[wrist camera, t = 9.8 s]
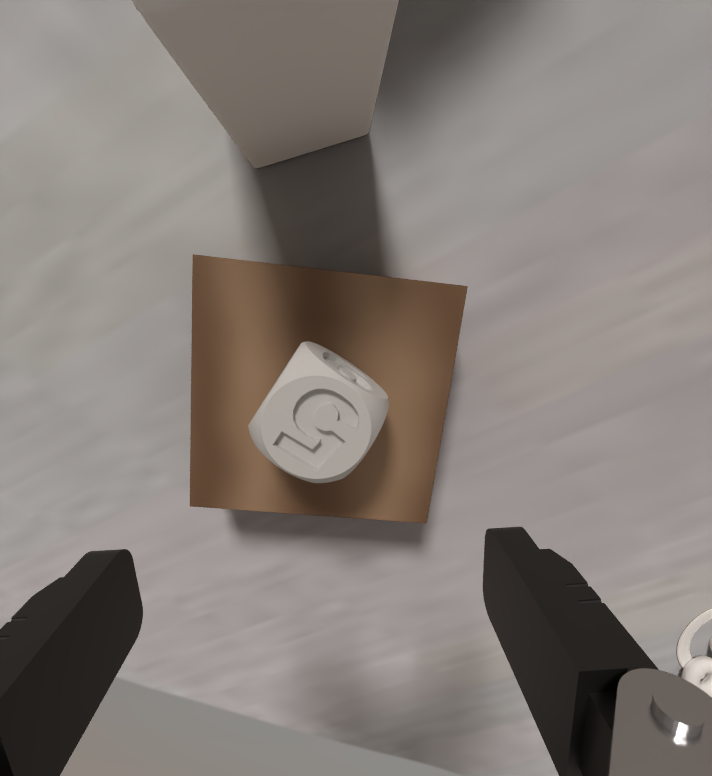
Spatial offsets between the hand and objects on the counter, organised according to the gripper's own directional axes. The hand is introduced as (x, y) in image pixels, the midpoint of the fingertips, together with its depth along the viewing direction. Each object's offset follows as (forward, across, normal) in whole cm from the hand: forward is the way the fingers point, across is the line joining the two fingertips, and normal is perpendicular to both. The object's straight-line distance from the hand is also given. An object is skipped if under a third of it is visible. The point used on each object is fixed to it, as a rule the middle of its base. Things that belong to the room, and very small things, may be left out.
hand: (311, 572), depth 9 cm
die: (+14, 0, 0) cm, 14 cm away
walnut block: (+20, 0, 0) cm, 20 cm away
